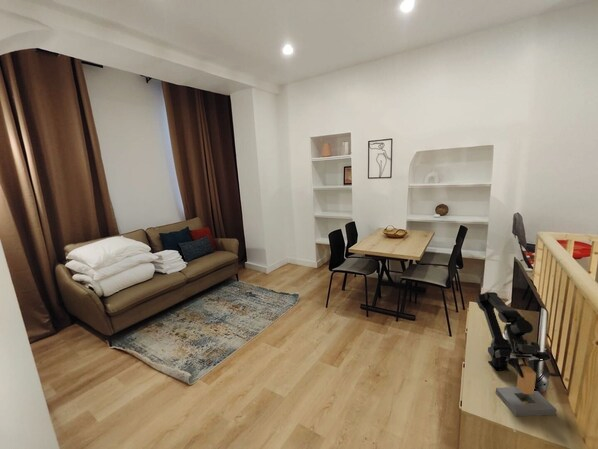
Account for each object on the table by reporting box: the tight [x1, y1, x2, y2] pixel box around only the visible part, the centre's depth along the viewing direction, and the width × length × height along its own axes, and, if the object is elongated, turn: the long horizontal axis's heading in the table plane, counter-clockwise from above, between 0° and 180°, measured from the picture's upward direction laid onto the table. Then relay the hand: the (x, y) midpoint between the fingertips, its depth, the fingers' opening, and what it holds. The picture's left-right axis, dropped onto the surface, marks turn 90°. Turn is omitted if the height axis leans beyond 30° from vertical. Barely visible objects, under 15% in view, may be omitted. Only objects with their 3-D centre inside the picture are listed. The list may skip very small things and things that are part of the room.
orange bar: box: [516, 365, 537, 394], centre depth 115 cm, size 4×4×10 cm
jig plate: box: [495, 386, 558, 417], centre depth 117 cm, size 12×16×2 cm
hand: (528, 378), depth 114 cm, fingers closed on orange bar, 4 cm apart
